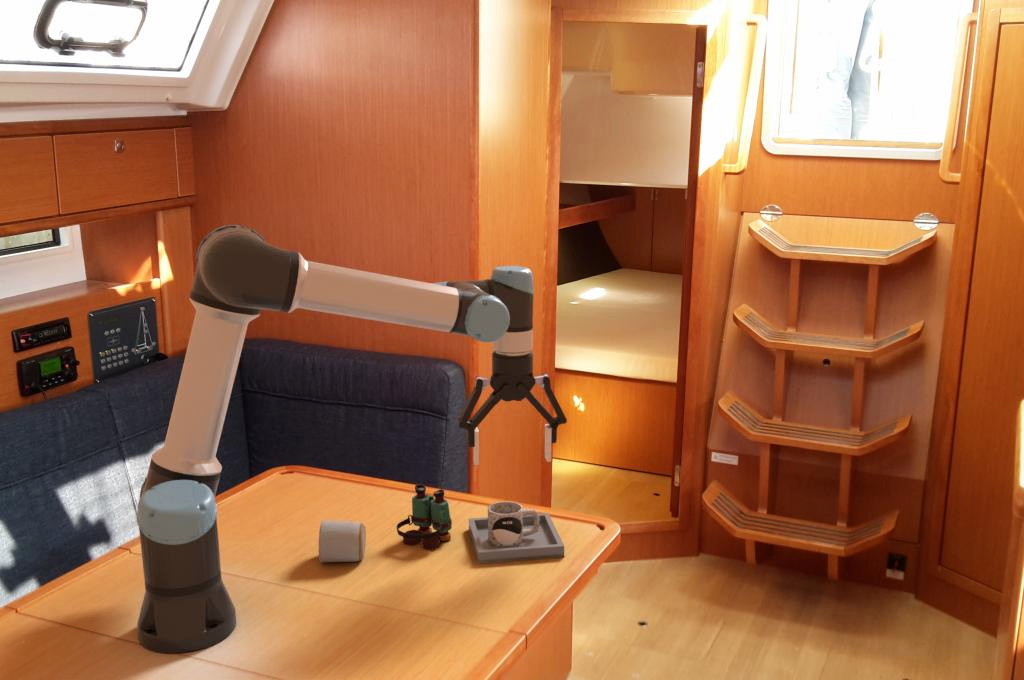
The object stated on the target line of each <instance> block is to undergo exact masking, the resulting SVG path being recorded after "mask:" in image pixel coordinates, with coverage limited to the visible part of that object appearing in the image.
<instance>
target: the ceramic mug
mask: <svg viewBox="0 0 1024 680" xmlns="http://www.w3.org/2000/svg"><path fill="white" fill-rule="evenodd" d="M366 530H367V529H366V526H365V523H362V522H359V521H352V520H351V521H350V520H349V521H347V520H346V521H345V520H330V519H329V520H328V519H327V520H326V519H323V520H321V522H320V527H319V531H318V534H319V535H318V560H319V562H320V563H343V562H344V563H345V562H346V563H348V562H349V563H351V562H353V563H354V562H360V561H362V560H363V559H364V558H365V554H366V544H367V543H366V542H367V541H366V540H367V531H366Z"/></svg>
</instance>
